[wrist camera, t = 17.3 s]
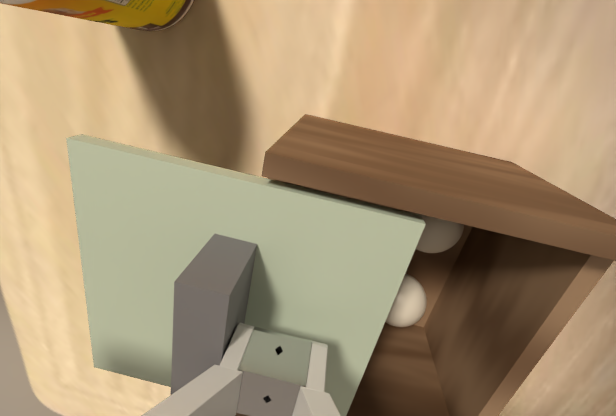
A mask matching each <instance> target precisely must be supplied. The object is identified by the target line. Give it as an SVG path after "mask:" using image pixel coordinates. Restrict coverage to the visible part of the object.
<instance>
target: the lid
mask: <svg viewBox="0 0 616 416" xmlns="http://www.w3.org/2000/svg"><path fill="white" fill-rule="evenodd" d="M66 139H67V147H68V156H69V164H70V172H71V180H72V189H73V197H74V205H75V214H76V222H77V230H78V238H79V247H80V255H81V263H82V271H83V280H84V288H85V296H86V304H87V313H88V321H89V329H90V337H91V346H92V354H93V362H94V367H96V368H100V369H103V370H107V371H111V372H115V373H119V374H123V375H127V376H130V377H134V378H138V379H142V380H146V381H150V382H153V383H157V384H161V385H165V386H169V387H171V395H172V394H173V393H175V392H176V391H178V390H179V389H180V388H182V387H183V386H185V385H186V384H188V383H189V382H190V381H192V380H193V379H195V378H196V377H198V376H199V375H200V374H202V373H203V372H205V371H206V370H208V369H209V368H211V367H212V366H213V365H220V363H221V361H222V359H223V356H224V354H225V352H226V350H227V347H228V345H229V343H230V341H231V338H232V336H233V334H234V332H235V329H236V327H237V325H238V324H239V323H243V324H247V325H251V326H254V327H259V328H263V329H266V330H270V331H273V332H277V333H281V334H286V335H290V336H295V337H299V338H303V339H308V340H311V341H315V342H320V343H324V344H327V346H328V354H327V368H326V381H325V392H326V393H329V394H330V396H331V398H332V399H333V401H334V403H335V405H336V407H337V409H338V411H339V413H340V415H341V416H346V415H347V413H348V410H349V408H350V405H351V403H352V401H353V398H354V396H355V393H356V391H357V389H358V386H359V384H360V381H361V379H362V377H363V374H364V372H365V369H366V367H367V364H368V362H369V360H370V357H371V355H372V352H373V350H374V348H375V345H376V343H377V340H378V338H379V336H380V333H381V331H382V328H383V326H384V324H385V321H386V319H387V316H388V314H389V311H390V309H391V307H392V304H393V302H394V299H395V297H396V295H397V292H398V290H399V287H400V285H401V283H402V280H403V278H404V275H405V273H406V271H407V268H408V266H409V263H410V261H411V258H412V256H413V254H414V251H415V249H416V246H417V244H418V242H419V239H420V237H421V234H422V232H423V230H424V227H425V225H426V224H425V222H424V220H423V218H422V216H421V215H417V214H413V213H409V212H405V211H401V210H396V209H392V208H388V207H384V206H380V205H375V204H371V203H367V202H363V201H359V200H355V199H350V198H346V197H342V196H338V195H334V194H330V193H325V192H321V191H317V190H313V189H309V188H304V187H300V186H296V185H292V184H288V183H284V182H279V181H275V180H271V179H267V178H263V177H259V176H254V175H250V174H246V173H242V172H238V171H233V170H229V169H225V168H221V167H217V166H213V165H208V164H204V163H200V162H196V161H192V160H188V159H183V158H179V157H175V156H171V155H167V154H162V153H158V152H154V151H150V150H146V149H142V148H137V147H133V146H129V145H125V144H121V143H117V142H112V141H108V140H104V139H100V138H96V137H91V136H87V135H83V134H81V135H77V136H73V137H68V138H66Z"/></svg>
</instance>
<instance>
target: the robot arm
mask: <svg viewBox="0 0 616 416" xmlns="http://www.w3.org/2000/svg"><path fill="white" fill-rule="evenodd" d="M327 354H328V346H327V344H324V343H320V342H315V341H311V340H308V339H303V338H299V337H295V336H290V335H286V334H281V333H277V332H273V331H270V330H266V329H263V328H259V327H254V326H251V325H247V324H243V323H239V324H238V325H237V327H236V329H235V332H234V334H233V336H232V338H231V341H230V343H229V345H228V347H227V350H226V352H225V354H224V356H223V359H222V361H221V363H220V365H213V366H212V367H211V368H209V369H208V370H206V371H205V372H203V373H202V374H200V375H199V376H198V377H196V378H195V379H193V380H192V381H190V382H189V383H188V384H186V385H185V386H183V387H182V388H180V389H179V390H178V391H176V392H175V393H173V394H172V395H170V396H169V397H167V398H166V399H165V400H163V401H162V402H160V403H159V404H157V405H156V406H155V407H153V408H152V409H150V410H149V411H147V412H146V413H145V414H143V415H142V416H235V415H236V413H240V414H244V415H249V416H341V415H340V413H339V411H338V409H337V407H336V405H335V403H334V401H333V399H332V398H331V396H330V394H329V393H326V392H325V381H326V368H327Z"/></svg>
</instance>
